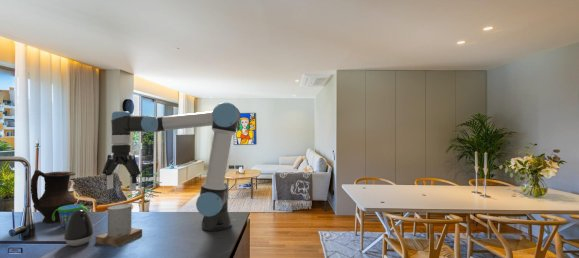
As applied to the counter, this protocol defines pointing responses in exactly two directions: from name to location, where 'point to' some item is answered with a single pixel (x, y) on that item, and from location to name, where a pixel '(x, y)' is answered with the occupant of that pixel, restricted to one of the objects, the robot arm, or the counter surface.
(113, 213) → the white canister
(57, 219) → the jug
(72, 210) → the snack cup
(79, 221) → the egg shaped speaker
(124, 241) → the pedestal
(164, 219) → the counter surface
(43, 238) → the counter surface
